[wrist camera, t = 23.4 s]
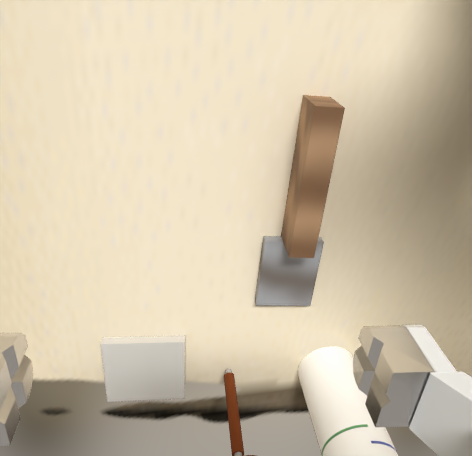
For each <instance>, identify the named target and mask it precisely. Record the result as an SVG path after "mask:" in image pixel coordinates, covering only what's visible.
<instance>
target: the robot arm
mask: <svg viewBox="0 0 472 456" xmlns="http://www.w3.org/2000/svg"><path fill="white" fill-rule="evenodd" d="M359 340H360V343H361V345H362V346H361V347H359V348H358V349H357V350H356V351H355V354H354V358H353V374H354V378H355V381H356V384H357V386H358V389H359V390H360V391H362V392H363V393H364V394H365V395H367V399H366V403H365V405H366V407H367V410H368V412H369V414H370V416H371V419H372V421H373V423H374V426H375V427H409V429H410V430H411V431H412V432H413V433H415V435H416V436H417V437H418V438H420V439H421V440H422V441H423V442H424V443H425V444H426V445H427V446H428V447H429V448H430V449H431V450H432V451H434V452H435V453H436V454H437V455H438V456H472V377H471V376H469V375H468V374H466V373H464V372H457V371H456V369H455V368H454V367H453V365H452V364H451V362H450V361H449V360H448V358H447V357H446V356H445V354H444V353H443V351H442V350H441V349H440V347H439V346H438V344H437V343H436V342H435V340H434V339H433V337H432V336H431V335H430V333H429V332H428V330H427V329H426V328H425V327H424V326H423V325H421V324H415V325H401V326H400V325H394V326H364V327H363V328H362V329H361V331H360V335H359ZM27 347H28V344H27V340H26V336H25V335H24V334H22V333H0V446H3V445H10V444H11V441H12V439H13V436H14V434H15V431H16V428H17V426H18V423H19V421H20V415H19V410H18V408H20V407H21V406H22V405H23V404H24V403H26V402H27V400H28V397H29V394H30V391H31V385H32V380H33V367H32V362H31V360H30V359H29V358H28V357H27V356H25V355H24V354H25V352H26V349H27Z"/></svg>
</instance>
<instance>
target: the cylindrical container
mask: <svg viewBox="0 0 472 456" xmlns="http://www.w3.org/2000/svg"><path fill="white" fill-rule="evenodd" d="M298 377H299V380H300V383H301V387H302V390H303V393H304V397H305V400H306V404H307V407H308V410H309V414H310V417H311V420H312V424H313V427H314V431H315V434H316V437H317V441H318V444H319V447H320V451H321V454H322V456H398V454H397V452H396V449H395V447H394V445H393V443H392V440H391V438H390V436H389V434H388V432H387V430H386V427H375V426H374V423H373V421H372V419H371V416H370V414H369V412H368V410H367V407H366V405H365V403H366V399H367V395H365V394H364V393H363V392H362V391H360V390H359V389H358V386H357V384H356V381H355V378H354V374H353V356H352V354H351V353H350V352H349V351H347V350H345V349H344V348H340V347H334V346H331V347H323V348H320V349H317V350H315V351H313V352H311V353H309V354H308V355H307V356H306V357H305V358H304V359H303V360H302V361H301V363H300V365H299V367H298Z"/></svg>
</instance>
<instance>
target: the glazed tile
mask: <svg viewBox="0 0 472 456" xmlns="http://www.w3.org/2000/svg"><path fill="white" fill-rule="evenodd" d="M101 351H102V360H103V369H104V378H105V386H106V396H107V402H114V401H115V402H117V401H141V400H165V399H184V388H185V387H184V385H185V335H178V336H135V337H102V341H101Z"/></svg>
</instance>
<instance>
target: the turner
mask: <svg viewBox="0 0 472 456" xmlns="http://www.w3.org/2000/svg"><path fill="white" fill-rule="evenodd" d="M344 109H345V108H344V107H343V106H341V105H340V104H339V103H337V102H336V101H335V100H333V99H332V98H331V97H323V96H308V95H303V100H302V106H301V113H300V119H299V125H298V132H297V138H296V144H295V151H294V157H293V163H292V170H291V176H290V183H289V189H288V195H287V202H286V208H285V214H284V221H283V227H282V233H281V237H279V236H263V243H262V251H261V258H260V266H259V273H258V280H257V288H256V295H255V303H256V305H288V306H310V305H311V300H312V295H313V290H314V286H315V281H316V276H317V272H318V267H319V262H320V257H321V253H322V248H323V243H324V242H323V240H322V238H318V237H319V232H320V227H321V222H322V217H323V212H324V207H325V202H326V197H327V192H328V187H329V183H330V178H331V173H332V168H333V163H334V158H335V153H336V148H337V143H338V138H339V134H340V129H341V124H342V119H343V114H344Z"/></svg>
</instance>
